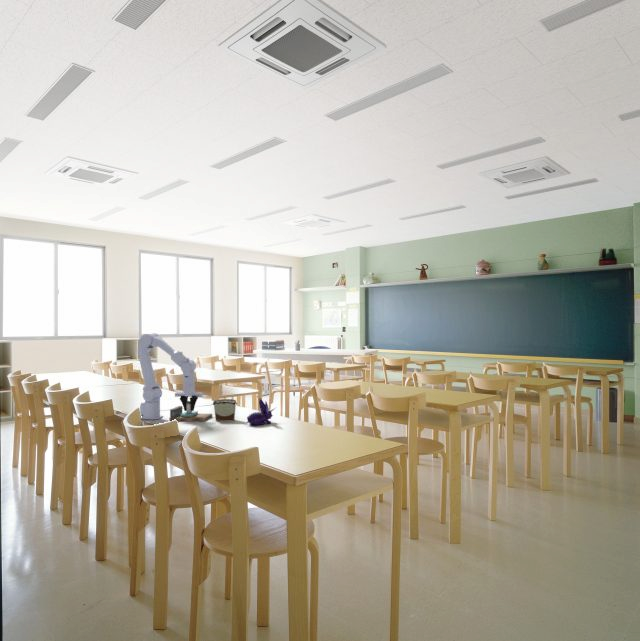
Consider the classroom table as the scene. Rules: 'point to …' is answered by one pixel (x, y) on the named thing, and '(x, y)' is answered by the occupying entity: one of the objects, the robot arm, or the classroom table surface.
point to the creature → (261, 415)
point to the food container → (225, 409)
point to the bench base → (198, 417)
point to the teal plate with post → (188, 411)
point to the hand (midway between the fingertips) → (189, 410)
